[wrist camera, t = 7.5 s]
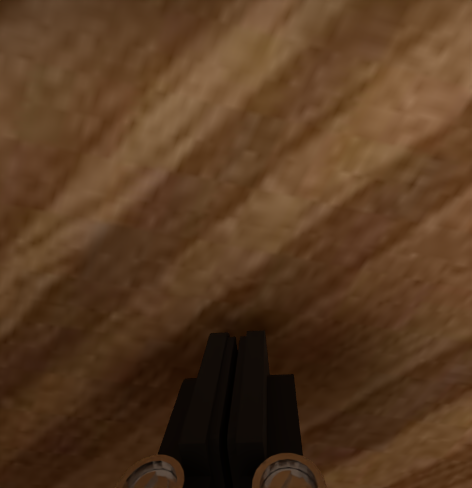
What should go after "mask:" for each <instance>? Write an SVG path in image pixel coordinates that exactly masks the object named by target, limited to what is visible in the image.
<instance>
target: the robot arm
mask: <svg viewBox="0 0 472 488" xmlns="http://www.w3.org/2000/svg"><path fill="white" fill-rule="evenodd" d="M115 488H327V486H326V483H325V480H324V478H323V476H322V474H321V472H320V470H319V469H318V468H317V466H316V465H315V464H314V463H313V462H312V461H310V460H308V459H307V458H305V457H303V454H302V445H301V436H300V427H299V418H298V409H297V400H296V391H295V383H294V375H293V374H288V375H270V374H269V364H268V355H267V345H266V336H265V330H263V331H247V334H246V336H241V337H240V342H239V349H238V350H237V343H236V338H235V337H230V336H229V333H228V332H227V333H211V334H210V336H209V339H208V343H207V346H206V349H205V353H204V356H203V360H202V363H201V367H200V370H199V374H198V377H197V378H190V379H185V380H184V381H183V383H182V385H181V388H180V391H179V394H178V397H177V400H176V403H175V406H174V409H173V411H172V414H171V417H170V420H169V423H168V426H167V429H166V432H165V435H164V438H163V441H162V443H161V446H160V449H159V452H158V455H153V456H149V457H146V458H143V459H142V460H140V461H138V462H136V463H135V464H133V465H132V466H131V467H130V468H129V469H128V470H127V471H126V472H125V473H124V474H123V476H122V477H121V478H120V480H119V481H118V483H117V485H116V486H115Z"/></svg>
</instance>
